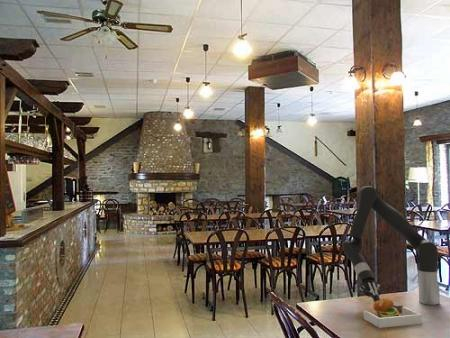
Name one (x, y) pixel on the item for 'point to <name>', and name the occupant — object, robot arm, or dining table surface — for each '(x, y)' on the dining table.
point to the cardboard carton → (397, 306)
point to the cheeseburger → (385, 308)
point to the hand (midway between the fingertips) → (378, 303)
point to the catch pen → (395, 319)
